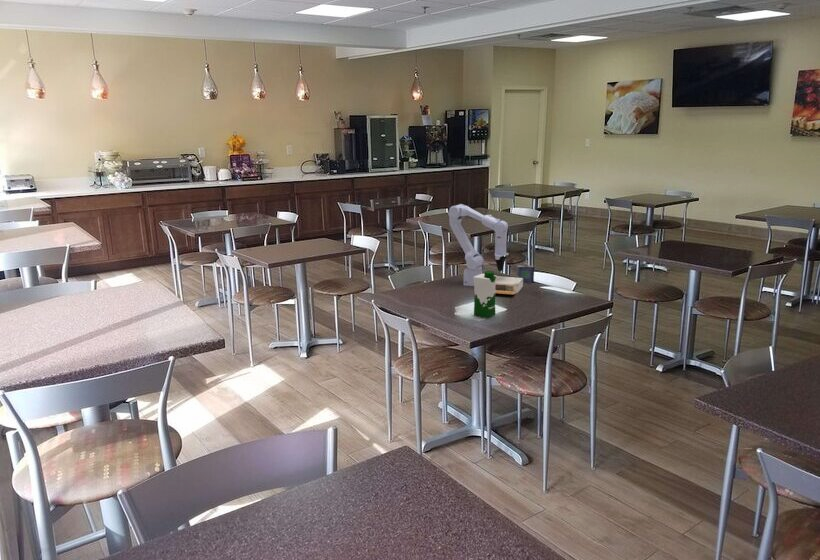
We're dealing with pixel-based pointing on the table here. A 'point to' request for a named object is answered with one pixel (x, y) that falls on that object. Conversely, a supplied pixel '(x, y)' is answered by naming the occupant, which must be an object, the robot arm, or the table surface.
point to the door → (504, 292)
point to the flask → (526, 273)
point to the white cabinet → (509, 284)
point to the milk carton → (484, 294)
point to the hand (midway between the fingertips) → (500, 270)
